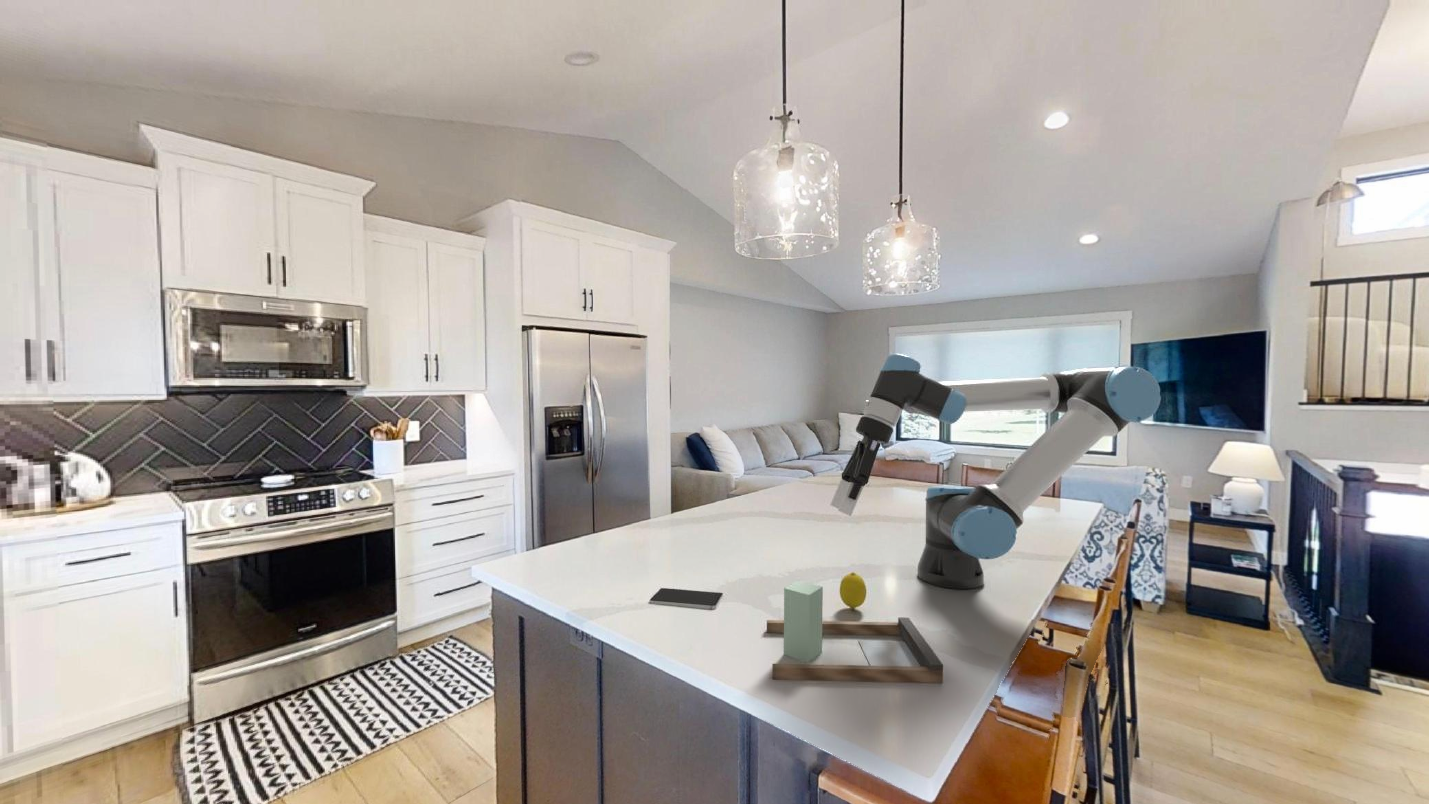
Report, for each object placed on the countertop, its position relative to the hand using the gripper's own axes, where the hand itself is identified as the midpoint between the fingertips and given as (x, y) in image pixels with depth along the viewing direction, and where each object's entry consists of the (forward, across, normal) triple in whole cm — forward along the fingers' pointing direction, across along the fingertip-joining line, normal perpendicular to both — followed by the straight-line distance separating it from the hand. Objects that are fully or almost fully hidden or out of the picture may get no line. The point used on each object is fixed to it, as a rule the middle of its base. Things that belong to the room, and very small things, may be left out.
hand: (839, 510), depth 124 cm
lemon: (+18, 0, +11) cm, 21 cm away
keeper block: (+25, +21, +1) cm, 33 cm away
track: (+22, +20, +8) cm, 31 cm away
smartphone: (+33, -2, -22) cm, 40 cm away
